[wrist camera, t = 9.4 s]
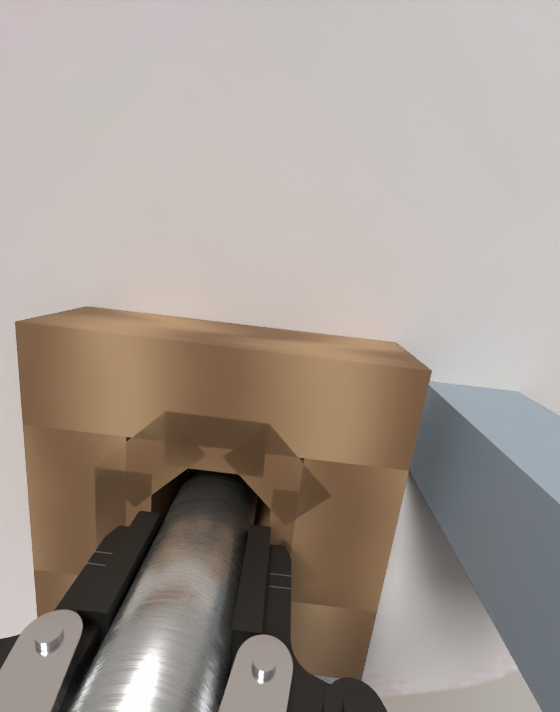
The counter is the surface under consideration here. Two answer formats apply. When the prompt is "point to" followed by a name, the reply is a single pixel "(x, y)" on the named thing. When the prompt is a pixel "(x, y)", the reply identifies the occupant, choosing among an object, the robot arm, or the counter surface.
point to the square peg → (500, 514)
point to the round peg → (178, 607)
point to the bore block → (223, 450)
